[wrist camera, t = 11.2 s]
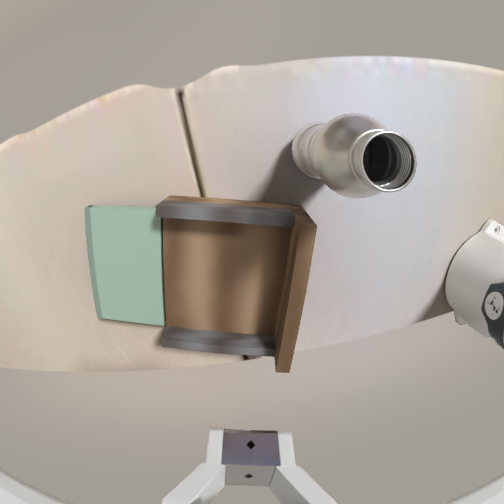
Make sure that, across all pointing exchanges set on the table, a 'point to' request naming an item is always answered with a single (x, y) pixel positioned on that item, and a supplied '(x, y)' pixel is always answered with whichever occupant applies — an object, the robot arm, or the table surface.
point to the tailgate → (126, 263)
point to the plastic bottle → (355, 155)
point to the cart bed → (235, 275)
